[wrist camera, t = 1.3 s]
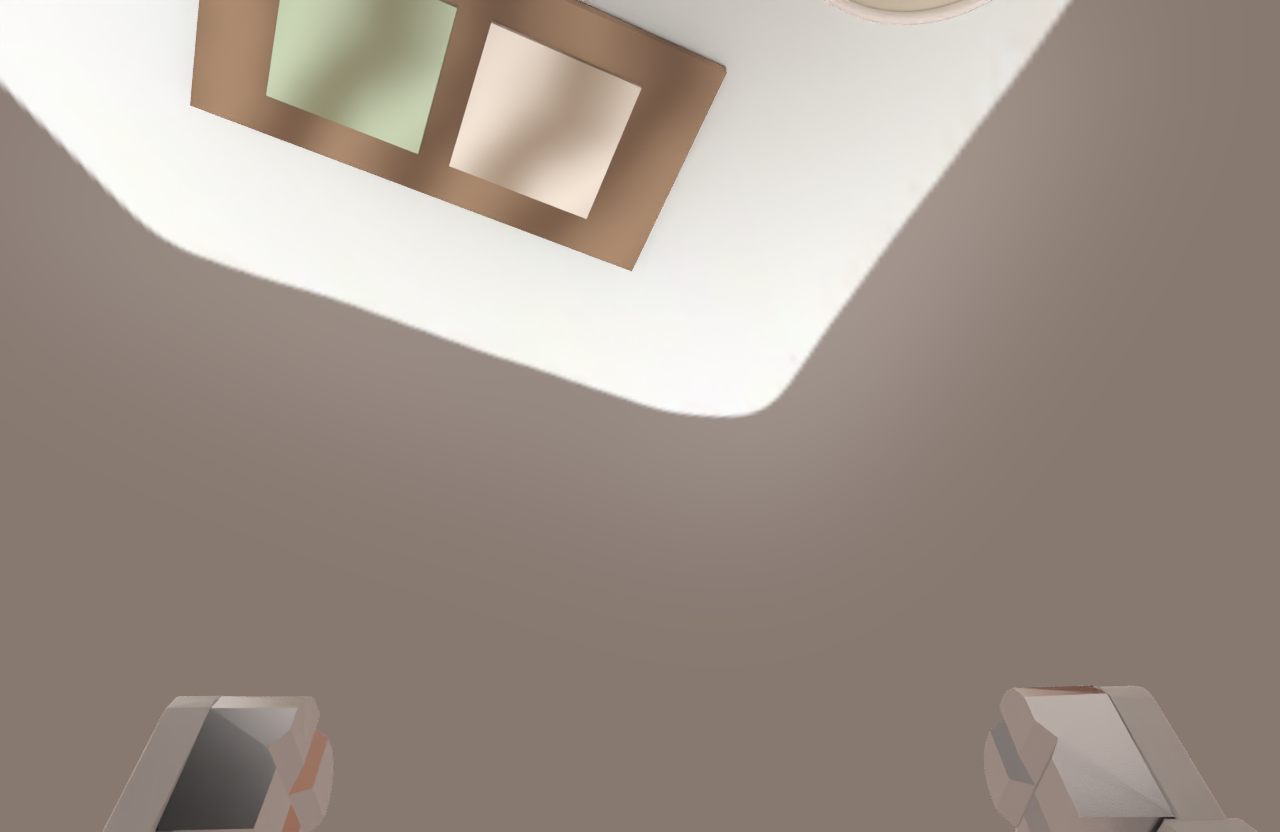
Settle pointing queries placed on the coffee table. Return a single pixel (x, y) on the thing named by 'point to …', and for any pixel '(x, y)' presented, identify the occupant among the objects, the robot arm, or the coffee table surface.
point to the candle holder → (906, 10)
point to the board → (471, 103)
